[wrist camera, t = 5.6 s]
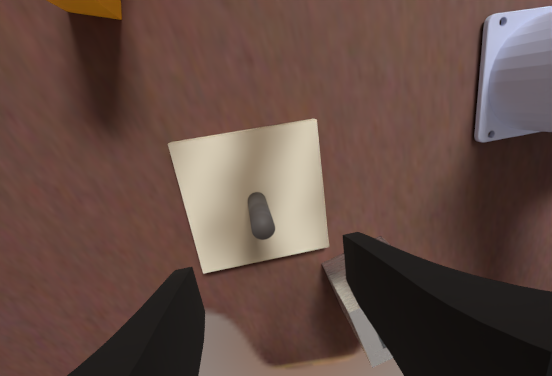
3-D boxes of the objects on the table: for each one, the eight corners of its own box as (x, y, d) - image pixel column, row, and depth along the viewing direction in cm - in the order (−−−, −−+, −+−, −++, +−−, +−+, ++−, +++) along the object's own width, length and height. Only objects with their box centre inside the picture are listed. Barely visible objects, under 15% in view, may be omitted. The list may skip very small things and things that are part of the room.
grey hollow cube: (380, 236, 21) (425, 276, 16) (396, 284, 23) (442, 334, 18) (321, 263, 21) (348, 313, 16) (342, 310, 22) (372, 367, 18)
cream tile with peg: (313, 118, 17) (342, 124, 13) (325, 241, 20) (353, 283, 16) (170, 142, 17) (146, 157, 12) (204, 267, 19) (195, 319, 15)
